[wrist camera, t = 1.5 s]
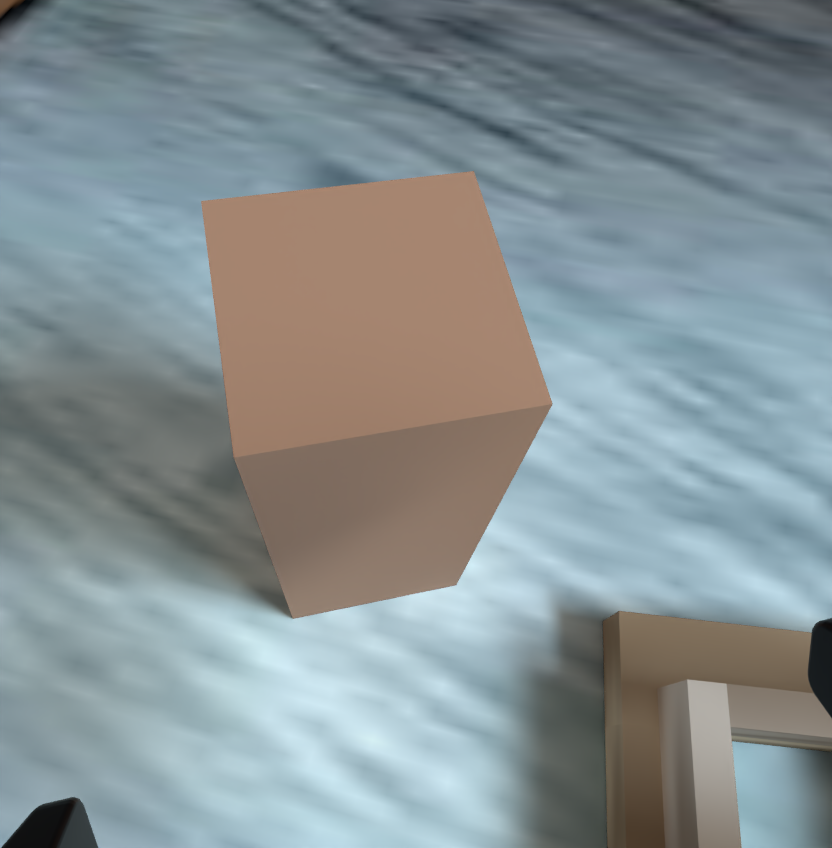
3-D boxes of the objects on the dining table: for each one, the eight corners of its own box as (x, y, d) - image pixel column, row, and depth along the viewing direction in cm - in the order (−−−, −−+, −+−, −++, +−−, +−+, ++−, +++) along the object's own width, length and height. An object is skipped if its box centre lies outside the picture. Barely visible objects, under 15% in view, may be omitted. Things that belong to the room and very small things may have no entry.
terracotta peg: (456, 585, 22) (552, 403, 12) (293, 618, 22) (233, 457, 11) (420, 439, 24) (473, 171, 14) (270, 465, 24) (200, 201, 13)
